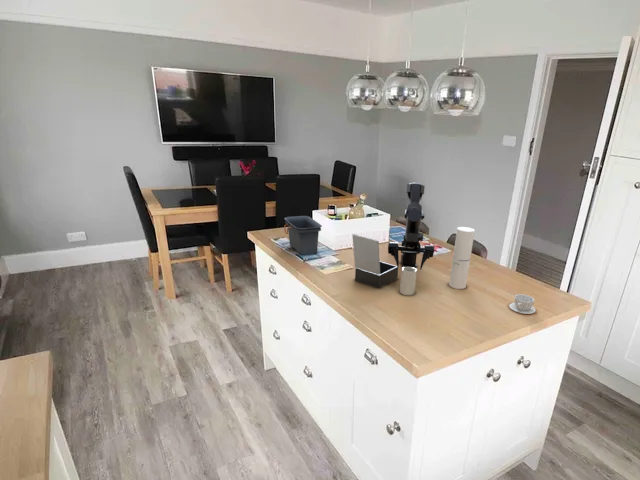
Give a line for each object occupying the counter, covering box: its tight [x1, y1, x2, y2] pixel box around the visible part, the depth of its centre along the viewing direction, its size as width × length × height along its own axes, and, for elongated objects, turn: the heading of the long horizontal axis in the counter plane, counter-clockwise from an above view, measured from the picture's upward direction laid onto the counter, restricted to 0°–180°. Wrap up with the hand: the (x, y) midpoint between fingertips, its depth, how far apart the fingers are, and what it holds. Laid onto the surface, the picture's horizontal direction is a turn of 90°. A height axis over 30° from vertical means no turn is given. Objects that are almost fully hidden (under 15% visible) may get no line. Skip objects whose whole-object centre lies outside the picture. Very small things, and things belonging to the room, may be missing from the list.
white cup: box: [399, 266, 418, 296], centre depth 168 cm, size 6×6×10 cm
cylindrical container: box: [448, 226, 476, 290], centre depth 175 cm, size 7×7×25 cm
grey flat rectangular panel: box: [352, 233, 381, 275], centre depth 168 cm, size 15×12×1 cm
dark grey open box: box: [354, 260, 399, 289], centre depth 179 cm, size 14×12×6 cm
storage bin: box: [284, 215, 323, 256], centre depth 206 cm, size 21×16×14 cm
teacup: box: [508, 293, 537, 315], centre depth 162 cm, size 10×10×5 cm
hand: (409, 268), depth 168 cm, fingers open, 9 cm apart
